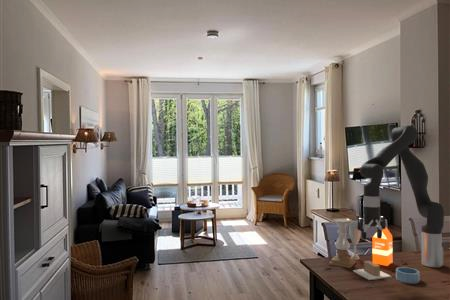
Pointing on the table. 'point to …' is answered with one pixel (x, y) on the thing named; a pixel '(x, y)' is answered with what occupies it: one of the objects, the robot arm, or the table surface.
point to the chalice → (354, 239)
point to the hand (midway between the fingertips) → (371, 238)
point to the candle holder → (342, 245)
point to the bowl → (407, 275)
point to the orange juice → (382, 248)
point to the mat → (372, 279)
